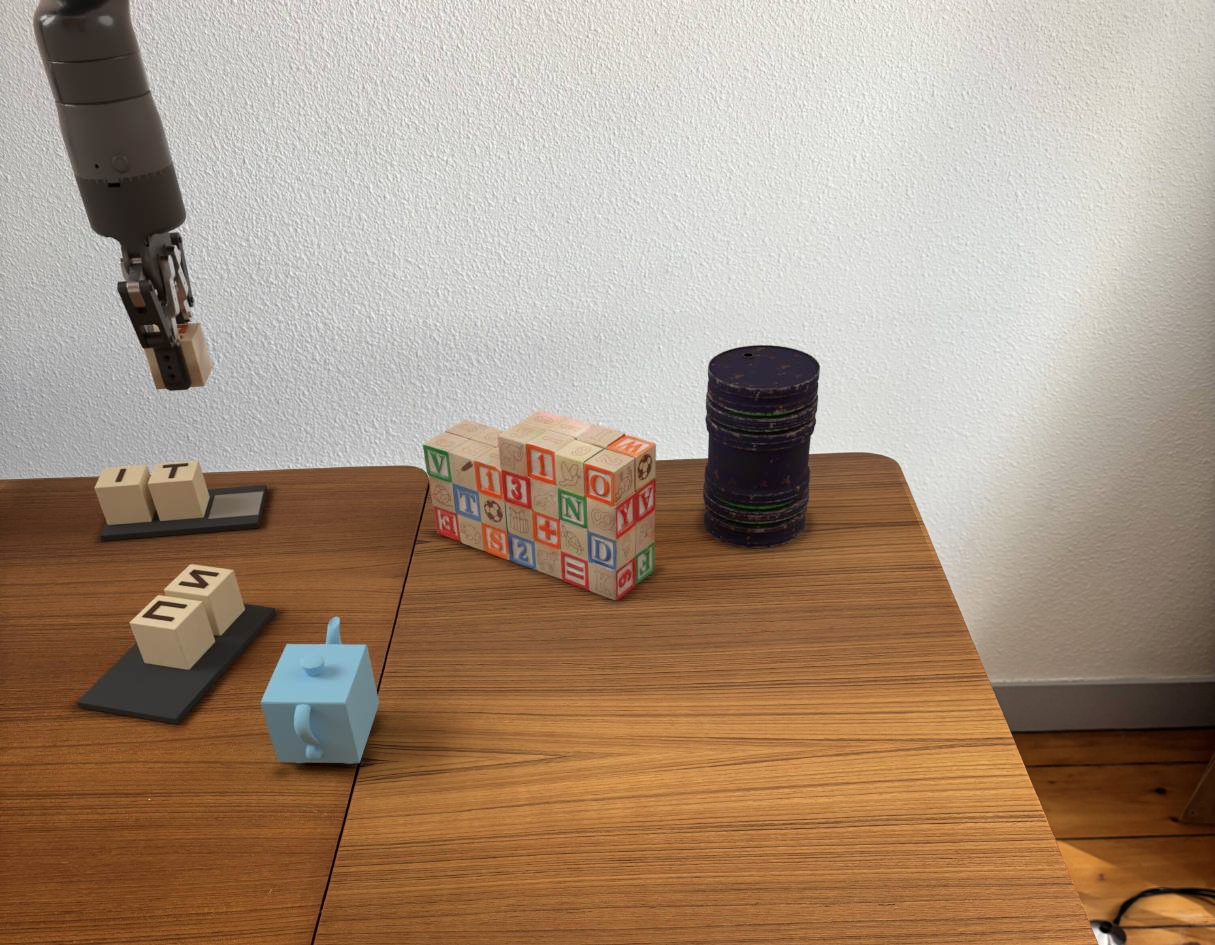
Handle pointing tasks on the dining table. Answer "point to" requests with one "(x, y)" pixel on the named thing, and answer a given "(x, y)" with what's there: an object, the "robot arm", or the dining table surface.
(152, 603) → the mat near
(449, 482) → the stack of blocks
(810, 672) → the dining table surface
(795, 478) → the storage jar
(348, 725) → the teapot
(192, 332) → the tile
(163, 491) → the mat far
